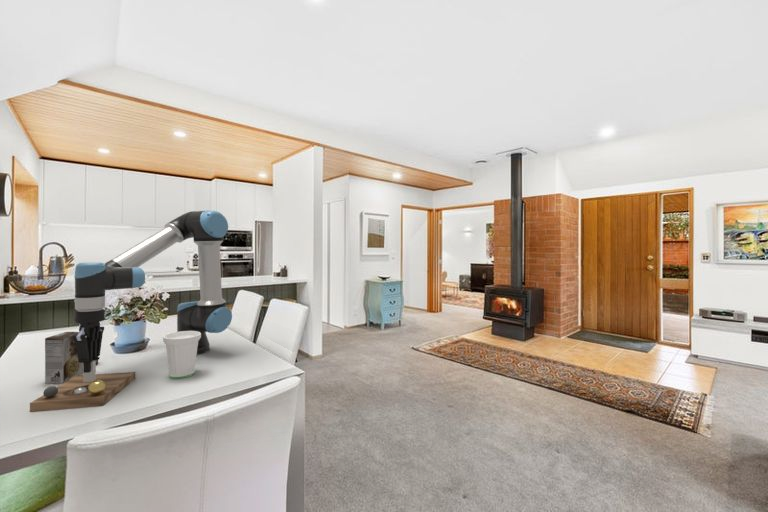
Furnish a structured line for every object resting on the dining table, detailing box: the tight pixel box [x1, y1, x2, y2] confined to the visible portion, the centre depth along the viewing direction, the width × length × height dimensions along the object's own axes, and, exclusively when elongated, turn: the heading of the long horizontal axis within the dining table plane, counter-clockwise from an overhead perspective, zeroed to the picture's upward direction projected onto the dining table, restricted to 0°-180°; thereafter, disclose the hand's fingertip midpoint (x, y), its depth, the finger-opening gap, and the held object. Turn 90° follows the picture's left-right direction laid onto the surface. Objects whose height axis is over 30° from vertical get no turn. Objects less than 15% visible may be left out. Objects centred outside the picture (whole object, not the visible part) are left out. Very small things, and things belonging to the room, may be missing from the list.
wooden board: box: [29, 371, 136, 412], centre depth 111 cm, size 22×18×2 cm
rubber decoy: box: [43, 385, 58, 397], centre depth 103 cm, size 3×3×3 cm
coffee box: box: [44, 331, 83, 385], centre depth 123 cm, size 9×6×16 cm
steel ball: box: [74, 387, 88, 394], centre depth 107 cm, size 3×3×3 cm
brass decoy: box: [88, 380, 106, 395], centre depth 105 cm, size 4×4×4 cm
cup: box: [162, 331, 201, 380], centre depth 129 cm, size 12×12×15 cm
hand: (89, 380), depth 112 cm, fingers closed
